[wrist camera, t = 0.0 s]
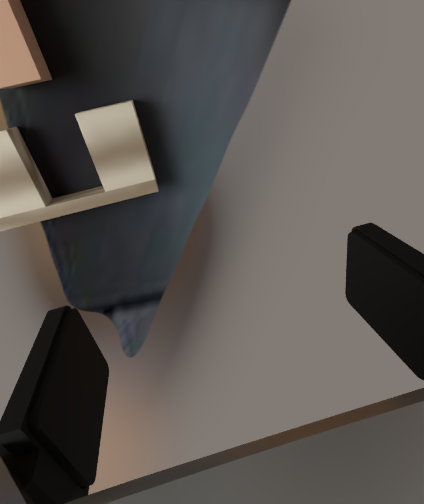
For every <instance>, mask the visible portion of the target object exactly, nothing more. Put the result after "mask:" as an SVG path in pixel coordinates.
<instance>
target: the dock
mask: <svg viewBox="0 0 424 504" xmlns="http://www.w3.org/2000/svg"><path fill="white" fill-rule="evenodd" d="M75 116H76V119H77V121H78V124H79V127H80V129H81V132H82V134H83V137H84V139H85V142H86V144H87V147H88V149H89V152H90V154H91V157H92V160H93V162H94V165H95V167H96V170H97V172H98V175H99V177H100V180H101V182H102V185H103V186H100V187H96V188H92V189H88V190H84V191H80V192H76V193H72V194H68V195H64V196H60V197H56V198H52V197H51V195H50V192H49V190H48V188H47V186H46V184H45V182H44V180H43V178H42V176H41V174H40V172H39V170H38V168H37V166H36V164H35V162H34V160H33V158H32V156H31V154H30V152H29V150H28V148H27V146H26V144H25V142H24V140H23V138H22V136H21V134H20V132H19V130H18V128H17V127H13V128H9V129H5V130H0V231H4V230H8V229H12V228H15V227H20V226H24V225H27V224H32V223H35V222H39V221H43V220H47V219H51V218H55V217H59V216H63V215H67V214H71V213H75V212H79V211H83V210H87V209H91V208H95V207H99V206H103V205H107V204H111V203H114V202H118V201H122V200H126V199H130V198H134V197H138V196H142V195H146V194H150V193H154V192H158V191H159V190H158V183H157V180H156V176H155V173H154V170H153V166H152V163H151V160H150V156H149V153H148V149H147V146H146V143H145V139H144V136H143V133H142V129H141V126H140V122H139V119H138V116H137V112H136V109H135V106H134V102H133V100H130V101H126V102H121V103H117V104H113V105H108V106H104V107H100V108H95V109H91V110H87V111H82V112H79V113H77V114H75Z"/></svg>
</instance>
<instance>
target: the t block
mask: <svg viewBox="0 0 424 504" xmlns="http://www.w3.org/2000/svg"><path fill="white" fill-rule="evenodd" d="M49 80H52V77H51V75H50V72H49V70H48V68H47V65H46V63H45V60H44V58H43V55H42V53H41V50H40V48H39V45H38V43H37V41H36V38H35V36H34V33H33V31H32V28H31V26H30V23H29V21H28V18H27V16H26V13H25V11H24V9H23V6H22V4H21V1H20V0H0V89H1V88H17V87H22V86H26V85H31V84H35V83H40V82H44V81H49Z"/></svg>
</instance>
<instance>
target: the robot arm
mask: <svg viewBox="0 0 424 504" xmlns="http://www.w3.org/2000/svg"><path fill="white" fill-rule="evenodd" d="M346 268H347V269H346V292H345V293H346V298H347V300H348V302H349V303H350V305H351V306H352V307H353V308H354V309H355V310H356V311H357V312H358V313H359V314H360V315H361V316H362V318H363V319H364V320H365V321H366V322H367V323H368V324H369V325H370V326H371V327H372V328H373V329H374V330H375V331H376V333H377V334H378V335H379V336H380V337H381V338H382V339H383V340H384V341H385V342H386V343H387V344H388V346H390V348H391V349H392V350H393V351H394V352H395V353H396V354H397V355H398V356H399V357H400V358H401V360H402V361H403V362H404V363H405V364H406V365H407V366H408V367H409V368H410V369H411V370H412V371H413V372H414V374H415V375H416V376H417V377H419V378H420V379H422V380H424V254H422V253H421V252H419V251H418V250H416V249H414V248H413V247H411V246H409V245H408V244H406V243H404V242H403V241H401V240H400V239H398V238H396V237H395V236H393V235H392V234H390V233H388V232H387V231H385V230H383V229H382V228H380V227H378V226H377V225H375V224H373V223H368V224H364V225H360V226H356V227H354V228H353V229H352V232H350V233H349V234H348V243H347V267H346ZM108 377H109V368H108V364H107V362H106V360H105V358H104V357H103V354H102V353H101V351H100V349H99V347H98V345H97V344H96V342H95V340H94V338H93V337H92V335H91V333H90V331H89V329H88V328H87V326H86V324H85V322H84V321H83V319H82V317H81V315H80V313H79V312H78V310H77V309H76V308H74V309H71V307H69V306H64V307H60V308H57V309H53V310H50V311H48V313H47V314H46V317H45V319H44V321H43V324H42V326H41V328H40V331H39V333H38V335H37V337H36V340H35V342H34V344H33V347H32V349H31V351H30V354H29V356H28V358H27V360H26V363H25V365H24V367H23V370H22V372H21V374H20V377H19V379H18V381H17V384H16V386H15V388H14V390H13V393H12V395H11V397H10V400H9V402H8V405H7V407H6V409H5V411H4V414H3V416H2V418H1V421H0V504H424V388H422V389H419V390H415V391H412V392H409V393H406V394H403V395H399V396H396V397H393V398H390V399H387V400H383V401H380V402H377V403H373V404H370V405H367V406H364V407H361V408H357V409H354V410H351V411H348V412H345V413H341V414H338V415H335V416H332V417H329V418H325V419H322V420H319V421H316V422H313V423H310V424H306V425H303V426H300V427H297V428H294V429H291V430H287V431H284V432H281V433H278V434H275V435H272V436H268V437H265V438H262V439H259V440H256V441H253V442H250V443H246V444H243V445H240V446H237V447H234V448H231V449H227V450H225V451H221V452H218V453H215V454H212V455H209V456H206V457H203V458H200V459H196V460H193V461H191V462H187V463H184V464H181V465H178V466H175V467H172V468H169V469H165V470H162V471H160V472H156V473H153V474H150V475H147V476H144V477H141V478H138V479H134V480H131V481H129V482H126V483H123V484H120V485H117V486H114V487H111V488H108V489H105V490H102V491H99V492H97V493H93V494H90V495H88V491H89V485H92V484H93V483H94V481H95V477H96V471H97V463H98V455H99V447H100V439H101V431H102V424H103V416H104V408H105V400H106V392H107V385H108Z"/></svg>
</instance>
